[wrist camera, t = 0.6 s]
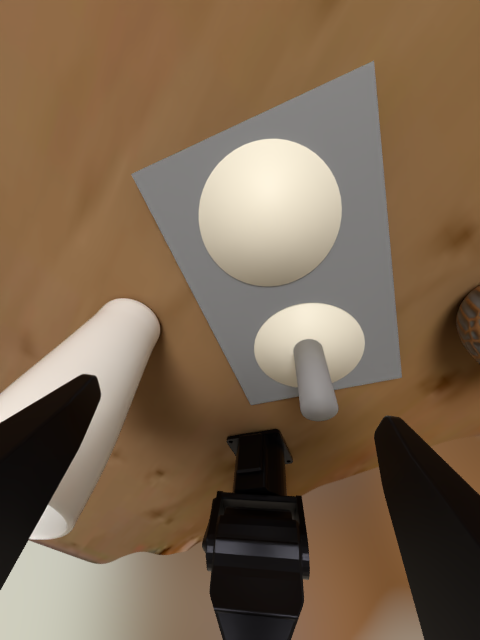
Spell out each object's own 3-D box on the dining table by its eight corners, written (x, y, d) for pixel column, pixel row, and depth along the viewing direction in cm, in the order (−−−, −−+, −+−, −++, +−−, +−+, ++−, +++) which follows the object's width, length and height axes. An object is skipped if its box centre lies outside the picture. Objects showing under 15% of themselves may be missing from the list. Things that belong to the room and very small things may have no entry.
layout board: (396, 367, 25) (438, 442, 19) (251, 395, 29) (247, 466, 23) (366, 66, 14) (442, 13, 8) (138, 172, 18) (71, 191, 12)
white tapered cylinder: (127, 272, 22) (-54, 451, 10) (186, 329, 25) (104, 527, 12) (79, 313, 25) (-112, 494, 12) (137, 360, 27) (28, 549, 15)
